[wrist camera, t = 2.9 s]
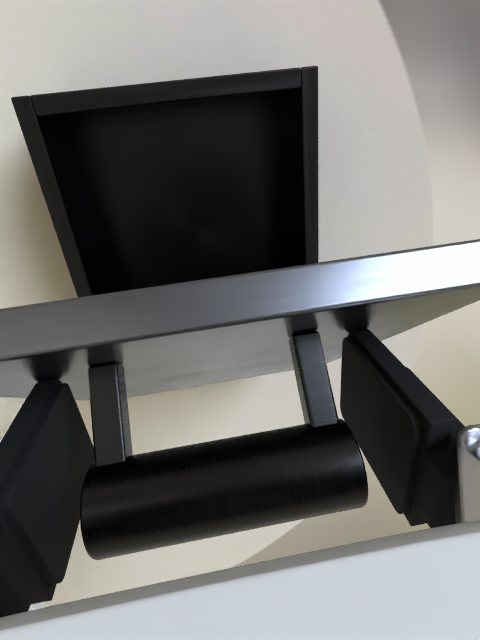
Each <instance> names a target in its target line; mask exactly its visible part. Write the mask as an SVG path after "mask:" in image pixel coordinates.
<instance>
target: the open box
mask: <svg viewBox="0 0 480 640" xmlns="http://www.w3.org/2000/svg"><path fill="white" fill-rule="evenodd" d="M11 100H12V103H13V106H14V109H15V112H16V115H17V118H18V121H19V124H20V127H21V130H22V132H23V135H24V138H25V141H26V144H27V147H28V150H29V153H30V156H31V159H32V162H33V165H34V168H35V171H36V174H37V177H38V180H39V183H40V186H41V189H42V192H43V195H44V198H45V201H46V204H47V207H48V210H49V213H50V216H51V219H52V222H53V225H54V228H55V230H56V233H57V236H58V239H59V242H60V245H61V248H62V251H63V254H64V257H65V260H66V263H67V266H68V269H69V272H70V275H71V278H72V281H73V284H74V287H75V290H76V293H77V296H78V298H80V297H86V296H93V295H100V294H107V293H114V292H121V291H128V290H134V289H141V288H148V287H155V286H162V285H169V284H176V283H183V282H189V281H196V280H203V279H210V278H217V277H224V276H231V275H237V274H244V273H251V272H258V271H265V270H272V269H279V268H286V267H292V266H299V265H306V264H313V263H318V66H309V67H302V68H290V69H280V70H271V71H261V72H251V73H242V74H232V75H222V76H213V77H203V78H194V79H184V80H174V81H165V82H155V83H145V84H136V85H126V86H116V87H107V88H97V89H87V90H78V91H68V92H58V93H49V94H39V95H31V96H20V97H12V98H11Z"/></svg>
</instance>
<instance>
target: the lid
mask: <svg viewBox="0 0 480 640" xmlns="http://www.w3.org/2000/svg"><path fill="white" fill-rule="evenodd" d="M478 300H480V239H478V240H471V241H464V242H457V243H450V244H444V245H437V246H430V247H423V248H416V249H409V250H402V251H395V252H389V253H382V254H375V255H368V256H361V257H354V258H347V259H341V260H334V261H327V262H320V263H313V264H306V265H299V266H292V267H286V268H279V269H272V270H265V271H258V272H251V273H244V274H237V275H231V276H224V277H217V278H210V279H203V280H196V281H189V282H183V283H176V284H169V285H162V286H155V287H148V288H141V289H134V290H128V291H121V292H114V293H107V294H100V295H93V296H86V297H80V298H73V299H66V300H59V301H52V302H45V303H38V304H31V305H25V306H18V307H11V308H4V309H0V397H12V398H27V397H28V395H29V393H30V392H31V390H32V388H33V387H34V385H35V384H36V383H38V382H43V381H49V380H55V379H59V380H60V381H61V382H62V383H67V384H68V385H69V387H70V389H71V392H72V394H73V397H74V399H75V400H90V403H91V416H92V430H93V443H94V456H95V463H93V464H92V465H91V466H90V467H89V469H88V471H87V473H86V475H85V478H84V482H83V486H82V492H81V501H80V523H81V532H82V538H83V542H84V546H85V548H86V551H87V553H88V555H89V556H90V557H91V558H92V559H95V560H100V559H105V558H110V557H115V556H120V555H125V554H130V553H135V552H140V551H145V550H150V549H155V548H160V547H165V546H170V545H175V544H180V543H185V542H190V541H195V540H200V539H205V538H210V537H215V536H220V535H225V534H230V533H235V532H240V531H245V530H250V529H255V528H260V527H265V526H270V525H275V524H280V523H285V522H290V521H295V520H300V519H305V518H310V517H315V516H320V515H325V514H330V513H335V512H341V511H345V510H350V509H355V508H361V507H363V506H364V505H365V504H366V503H367V499H368V483H367V475H366V471H365V466H364V461H363V458H362V454H361V451H360V449H359V446H358V443H357V441H356V439H355V437H354V435H353V433H352V431H351V429H350V428H349V426H348V425H347V423H346V422H345V421H344V420H342V419H338V416H337V411H336V407H335V402H334V398H333V393H332V388H331V384H330V379H329V375H328V370H327V366H326V364H327V363H329V362H331V361H334V360H336V359H339V358H341V357H342V341H343V338H345V337H348V333H349V332H352V331H359V330H365V329H369V330H370V331H371V332H372V333H373V334H374V335H375V336H376V337H377V338H378V339H379V340H380V341H382V340H384V339H387V338H389V337H392V336H394V335H396V334H399V333H401V332H404V331H406V330H409V329H411V328H413V327H416V326H418V325H421V324H423V323H425V322H428V321H430V320H433V319H435V318H437V317H440V316H442V315H445V314H447V313H449V312H452V311H454V310H457V309H459V308H462V307H464V306H466V305H469V304H471V303H474V302H476V301H478ZM291 370H294V371H295V376H296V381H297V386H298V391H299V396H300V401H301V406H302V411H303V416H304V421H305V424H304V425H299V426H293V427H288V428H282V429H276V430H271V431H265V432H260V433H254V434H249V435H243V436H237V437H232V438H226V439H221V440H215V441H210V442H204V443H198V444H193V445H187V446H182V447H176V448H171V449H165V450H160V451H154V452H148V453H143V454H137V455H133V454H132V444H131V434H130V424H129V414H128V403H127V398H130V397H136V396H142V395H148V394H154V393H160V392H166V391H171V390H177V389H183V388H189V387H195V386H201V385H207V384H213V383H219V382H225V381H231V380H237V379H243V378H249V377H255V376H261V375H267V374H273V373H279V372H285V371H291Z"/></svg>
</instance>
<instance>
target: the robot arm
mask: <svg viewBox="0 0 480 640" xmlns="http://www.w3.org/2000/svg"><path fill="white" fill-rule="evenodd" d="M340 409H341V413H342V416H343V418H344V420H345V422H346V423H347V425H348V426H349V428H350V429H351V431H352V433H353V435H354V437H355V439H356V441H357V443H358V445H359V447H360V448H361V450H362V452H363V454H364V456H365V457H366V459H367V461H368V463H369V464H370V466H371V468H372V470H373V471H374V473H375V475H376V477H377V479H378V480H379V482H380V484H381V486H382V487H383V489H384V491H385V493H386V495H387V496H388V498H389V500H390V502H391V503H392V505H393V507H394V509H395V510H396V511H397V512H398V513H399V514H402V513H404V515H405V517H406V518H407V520H408V521H409V523H410V525H411V526H415V525H420V524H424V523H427V524H428V525H429V527H430V529H424V530H419V531H413V532H408V533H402V534H397V535H392V536H387V537H382V538H377V539H372V540H367V541H362V542H357V543H352V544H348V545H342V546H337V547H333V548H327V549H323V550H318V551H312V552H308V553H302V554H297V555H293V556H288V557H283V558H278V559H273V560H268V561H263V562H259V563H254V564H249V565H244V566H240V567H234V568H229V569H225V570H220V571H215V572H210V573H205V574H201V575H196V576H191V577H186V578H181V579H176V580H172V581H167V582H162V583H157V584H153V585H148V586H143V587H139V588H134V589H129V590H124V591H120V592H115V593H110V594H106V595H101V596H96V597H91V598H87V599H82V600H77V601H73V602H68V603H63V604H59V605H54V606H49V607H45V608H40V609H36V610H32V611H29V608H30V605H31V604H36V603H41V602H46V601H51V600H52V598H53V594H54V591H55V587H56V584H57V583H61V582H62V580H63V579H64V576H65V573H66V569H67V565H68V561H69V558H70V554H71V550H72V546H73V543H74V539H75V535H76V532H77V528H78V524H79V520H80V501H81V492H82V486H83V482H84V478H85V475H86V473H87V471H88V469H89V467H90V466H91V465H92V464H93V463H95V456H94V447H93V444H92V442H91V439H90V437H89V434H88V432H87V429H86V427H85V424H84V422H83V419H82V417H81V414H80V412H79V409H78V407H77V404H76V402H75V399H74V397H73V394H72V392H71V389H70V387H69V385H68V384H67V383H62V382H61V381H60V380H59V379H55V380H49V381H43V382H38V383H36V384H35V385H34V387H33V388H32V390H31V392H30V393H29V395H28V397H27V399H26V400H25V402H24V404H23V405H22V407H21V409H20V410H19V412H18V414H17V415H16V417H15V419H14V420H13V422H12V424H11V425H10V427H9V429H8V431H7V432H6V434H5V436H4V437H3V439H2V441H1V442H0V640H480V424H477V425H469V426H467V427H465V426H464V425H463V424H462V423H461V422H460V421H459V420H458V419H457V418H456V417H455V416H454V415H453V414H452V413H451V412H450V411H449V410H448V409H447V408H446V406H445V405H444V404H443V403H442V402H441V401H440V400H439V399H438V398H437V397H436V396H435V395H434V394H433V393H432V392H431V391H430V390H429V389H428V388H427V387H426V386H425V385H424V384H423V383H422V382H421V381H420V380H419V378H418V377H416V375H415V374H414V373H413V372H412V371H411V370H410V369H408V368H407V367H405V366H404V365H403V364H402V363H401V362H400V361H399V360H398V359H397V358H396V357H395V356H394V355H393V354H392V353H391V352H390V351H389V350H388V349H387V347H386V346H385V345H384V344H383V343H382V342H381V341H380V340H379V339H378V338H377V337H376V336H375V335H374V334H373V333H372V332H371V331H370V330H369V329H365V330H359V331H352V332H349V333H348V337H345V338H343V341H342V367H341V397H340Z"/></svg>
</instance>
